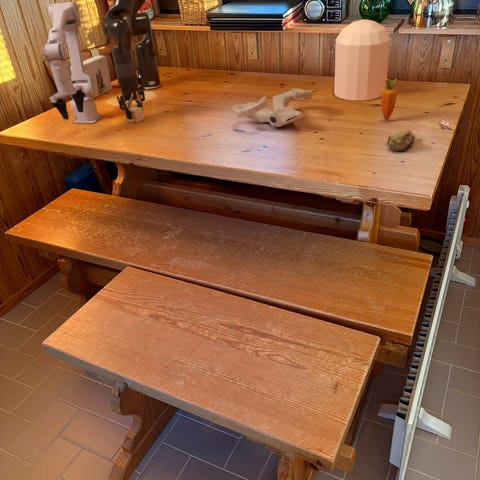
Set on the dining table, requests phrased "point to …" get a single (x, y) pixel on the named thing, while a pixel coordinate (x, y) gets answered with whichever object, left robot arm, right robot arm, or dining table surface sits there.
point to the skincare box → (98, 73)
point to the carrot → (388, 99)
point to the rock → (400, 140)
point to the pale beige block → (136, 114)
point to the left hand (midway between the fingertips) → (73, 115)
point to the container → (361, 61)
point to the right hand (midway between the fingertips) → (135, 116)
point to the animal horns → (280, 112)
